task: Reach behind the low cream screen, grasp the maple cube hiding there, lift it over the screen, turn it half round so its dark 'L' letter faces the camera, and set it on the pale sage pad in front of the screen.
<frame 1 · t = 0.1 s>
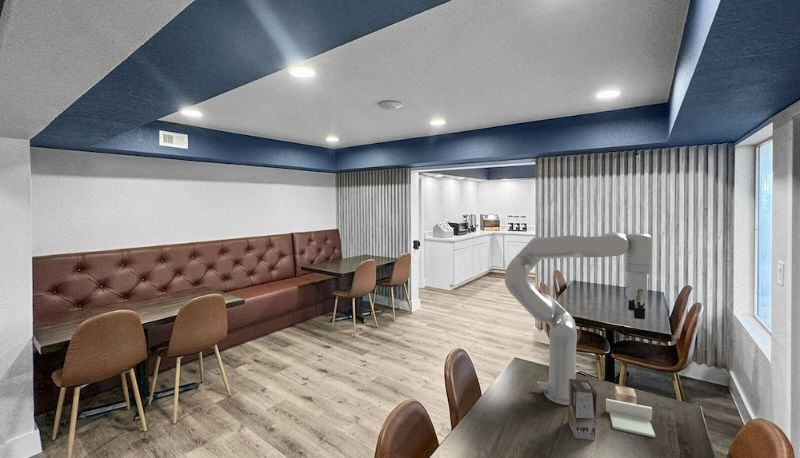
hand: (636, 314, 127), 37 cm above the table, tool pointing down, fingers open, 9 cm apart
cream screen: (628, 415, 128), on the table
sage pad: (631, 425, 122), on the table
coffee box: (581, 431, 120), on the table
maple cube: (625, 406, 133), on the table
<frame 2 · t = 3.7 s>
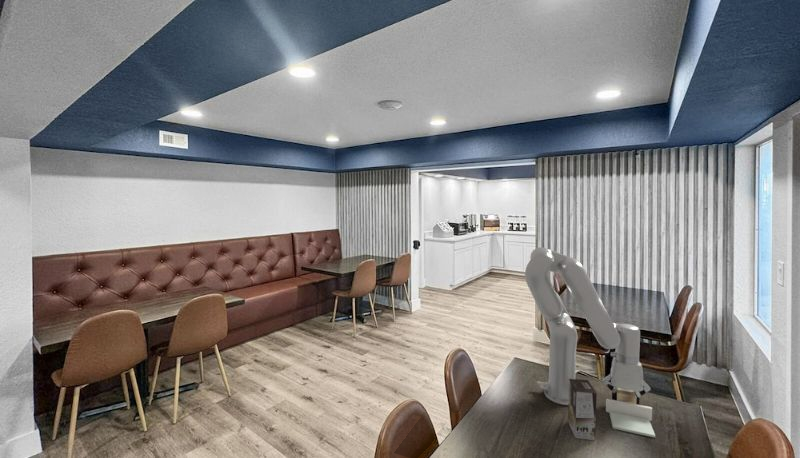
hand: (625, 403, 133), 1 cm above the table, tool pointing down, fingers closed on maple cube, 6 cm apart
maple cube: (625, 405, 133), on the table, touching gripper
everything else where it was.
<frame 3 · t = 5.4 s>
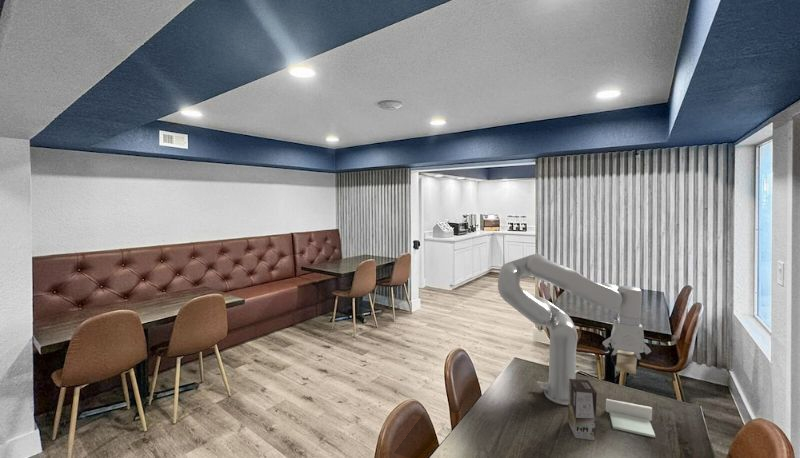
hand: (624, 365, 132), 16 cm above the table, tool pointing down, fingers closed on maple cube, 6 cm apart
maple cube: (624, 368, 132), point 15 cm above the table, touching gripper
everything else where it was.
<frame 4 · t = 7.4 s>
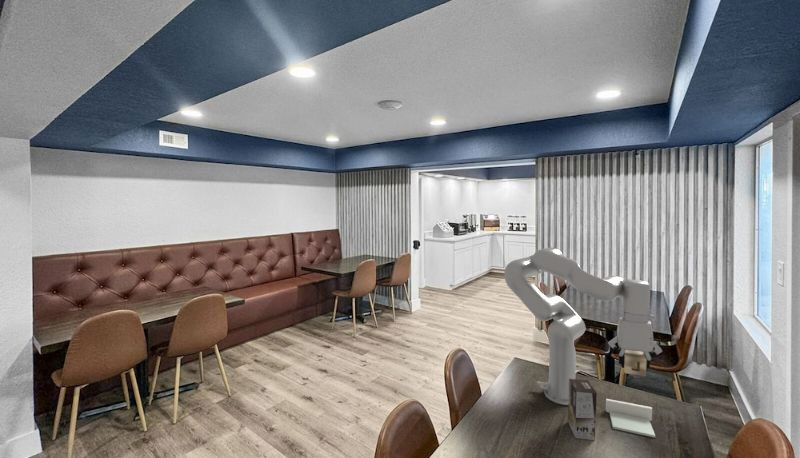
hand: (633, 367, 120), 21 cm above the table, tool pointing down, fingers closed on maple cube, 6 cm apart
maple cube: (633, 370, 120), point 20 cm above the table, touching gripper
everything else where it was.
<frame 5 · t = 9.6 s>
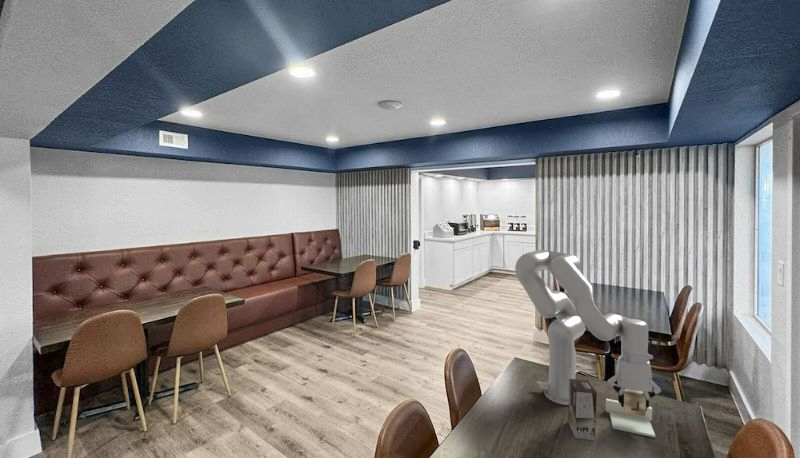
hand: (633, 406, 121), 7 cm above the table, tool pointing down, fingers closed on maple cube, 6 cm apart
maple cube: (633, 409, 121), point 6 cm above the table, touching gripper
everything else where it was.
when the fingers open (3 cm above the table, at t = 11.4 s): maple cube drops 1 cm, resting on sage pad.
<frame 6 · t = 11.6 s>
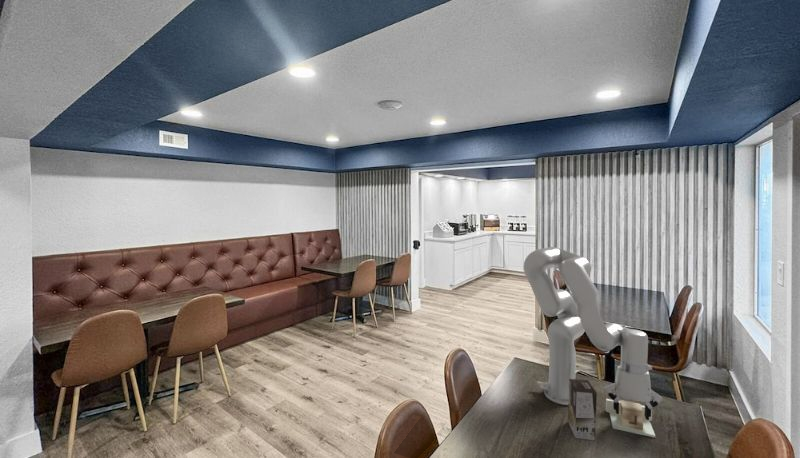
hand: (631, 414, 122), 4 cm above the table, tool pointing down, fingers open, 8 cm apart
maple cube: (630, 422, 122), point 1 cm above the table, touching sage pad
everything else where it was.
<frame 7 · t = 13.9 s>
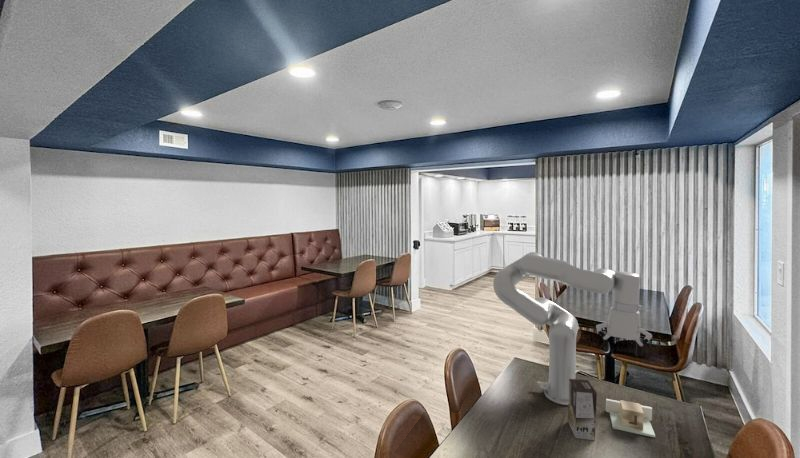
hand: (621, 352, 128), 23 cm above the table, tool pointing down, fingers open, 9 cm apart
nothing on the table moved.
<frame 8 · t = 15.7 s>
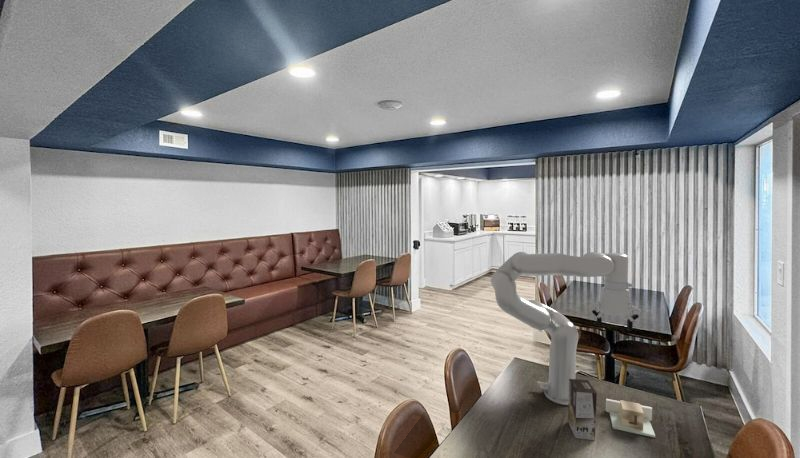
hand: (614, 328, 136), 28 cm above the table, tool pointing down, fingers open, 9 cm apart
nothing on the table moved.
at the end: maple cube 0.1 cm off-centre on the sage pad, point 0.8 cm above the sage pad's base; maple cube tilted 0°; the gripper is holding nothing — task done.
